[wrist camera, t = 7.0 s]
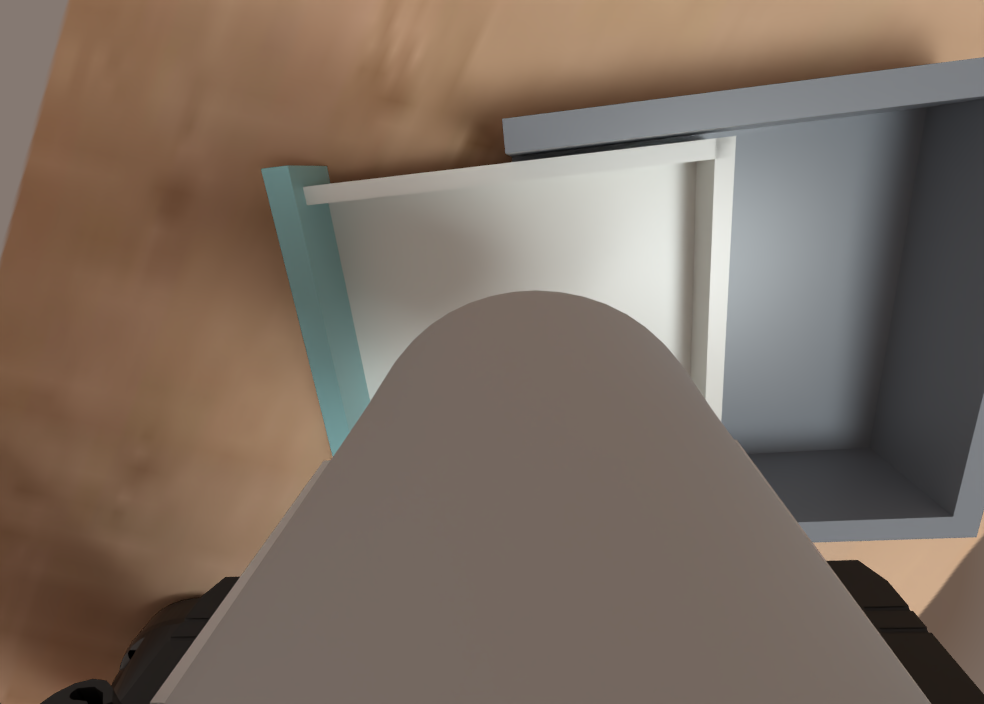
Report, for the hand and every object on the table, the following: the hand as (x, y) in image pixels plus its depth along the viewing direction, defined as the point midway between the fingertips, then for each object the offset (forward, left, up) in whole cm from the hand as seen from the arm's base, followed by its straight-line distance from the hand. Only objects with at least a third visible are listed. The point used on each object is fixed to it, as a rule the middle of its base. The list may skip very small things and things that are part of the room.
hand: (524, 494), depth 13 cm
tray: (-1, 0, -15) cm, 15 cm away
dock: (+10, 0, -16) cm, 19 cm away
